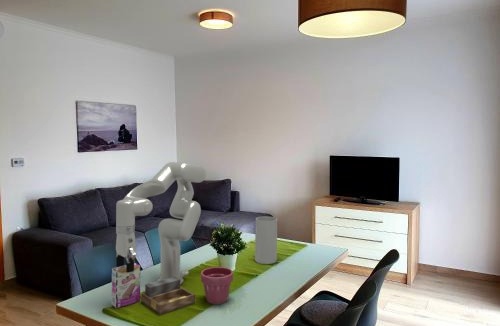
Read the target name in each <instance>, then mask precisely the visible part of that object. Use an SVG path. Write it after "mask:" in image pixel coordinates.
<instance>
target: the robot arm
mask: <svg viewBox="0 0 500 326" xmlns="http://www.w3.org/2000/svg"><path fill="white" fill-rule="evenodd" d="M206 177H207V171H206V169H205V167H204V166H203V165H202V166H201V165H198V164H192V163H187V162H175V161H170V162H169V161H168V163H165V165H164V166H162V168H161V169H160V170H159V171H158V172H157V173H156V174H155V175H154V176H153V177H152V178H151V179H150V180H147V181H145V182H143V183H141V184H139V185H136V187H134V188H132V189H131V190H130V191H129V192H128V193H127V194H126V195H125V196H124V198H122V199H120V200H118V201H116V203H115V204H116V206H115V207H116V209H115V211H116V212H115V213H116V215H115V217H116V218H115V221H116V224H115V225H116V226H115V234H116V240H115V242H116V243H115V253H116V254H115V257H116V265H115V267H119V266H124V265H126V272H127V273H129V272H133V271H134V263H136V262H135V260H136V257H137V245H136V244H137V243H136V242H137V241H136V235H135V231H136V230H135V228H136V219H135V218H136V217H137V216H139V217H142V216H147V215H149V214H150V213H151V212H152V210H153V209H154V208H153V205H154V204H153V202H152V201H151V200H149V199H148V198H149V197H153V196H159V195H162V194H163V193H165V192H166V191H167V190H168V189H169V188H170V186H172V184H173V183H174V182H175V181H176V182H177V191H176V193H175V195H174V198H173V200H172V202H171V205H170V207H169V214H170V216H171V217H173V218H164V219H162V220H161V221H160V222H159V224H158V229H157V230H158V235H159V242H160V277H158V279H157V281H160V280H164V279H168V278H172V277H176V278H178V279H180V285H181V284H183V283H184V277H186V276H189V270H186V271H184V270H181V244H180V241H182V242H187V241H189V240H190V239H191V238H192V237H193V234H194V232H195V229H196V227H197V224H198V222H199V219H200V217H201V212H202V209H201V204H200V203H199V202H197V201H196V200H192V199H193V198H194V194H195V192H194V188H193V187H194V186H193V184H192V183H198V184H199V183H202V182H203V181H204V180H205V179H206ZM175 218H176V219H175ZM180 219H182V220H180ZM125 260H126V264H125ZM157 281H156V282H157Z"/></svg>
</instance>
